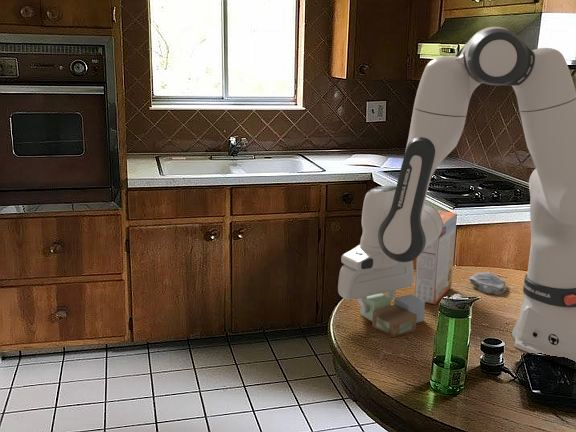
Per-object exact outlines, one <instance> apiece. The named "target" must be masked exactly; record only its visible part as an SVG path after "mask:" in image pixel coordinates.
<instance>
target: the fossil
mask: <svg viewBox="0 0 576 432" xmlns="http://www.w3.org/2000/svg"><path fill="white" fill-rule="evenodd" d="M468 279H469V282H470V284H471V285H472V286H473V287H475V289H477V290H478V291H479V292H483V293H484V294H487V295H488V294H493V295H501V294H503V293H505V292H506V291H507V289H508V287H507V285H506V280H504V279H503V278H501V277H499V276H498V275H496V274H494V273H493V272H489V271H483V272H477V273H475V274H473V275H471V276H470V277H469V278H468Z"/></svg>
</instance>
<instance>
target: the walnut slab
mask: <svg viewBox="0 0 576 432" xmlns="http://www.w3.org/2000/svg"><path fill="white" fill-rule="evenodd" d="M416 320H417V315H416V314H414V313H412V312H410V311H408V310H406V309H403V308H401V307H399V306H397V305H394V304H392V305H391V306H388V307H385V308H382V309H379V310H375V311H373V319H372V321H371V327H373V328H374V329H376V330H378V331H380V332H382V333H383V334H386V335H388V336H390V337H392V338H396V337H400V336H403V335H405V334H407V333H411V332H414V331H416V330H417V323H416Z"/></svg>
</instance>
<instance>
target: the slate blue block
mask: <svg viewBox="0 0 576 432" xmlns="http://www.w3.org/2000/svg"><path fill="white" fill-rule="evenodd" d="M393 305H397V306H399V307H401V308H403V309H406V310H408V311H410V312H412V313H414V314H416V315H417V320H416V324H417V323H421V322H423V321H424V319H425V318H424V317H425V309H426V308H425V305H426V303H425V301H423V300H421V299H419V298H417V297H415V296H414V294H406V295H401V296H398V297H394V303H393Z"/></svg>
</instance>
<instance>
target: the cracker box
mask: <svg viewBox="0 0 576 432" xmlns="http://www.w3.org/2000/svg"><path fill="white" fill-rule="evenodd" d="M436 211H437V212H438V213H439V214H440V216H441V218H442V222H443V229H442V233H441V235H440V236H439V238H438V239H437V240H436V241H435V242H433V243H432V244H431V245H430V246H429V247H427V248H426V249H425V250H423V251H422V252H421V254H420V255H419V256H418V257H417V258H416V265H415V276H414V279H415V280H414V294H413V296H415V297H417V298H419V299H421V300H423V301H425V304H429V305H436V304H437V302H439V301H440V299H442V298H443V296H445V294H447V292H448V291H449V290H450V289H451V288H452V282H453V269H454V256H455V255H454V254H455V247H456V246H455V244H456V232H457V220H458V213H457V212H450V211H445V210H436Z"/></svg>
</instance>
